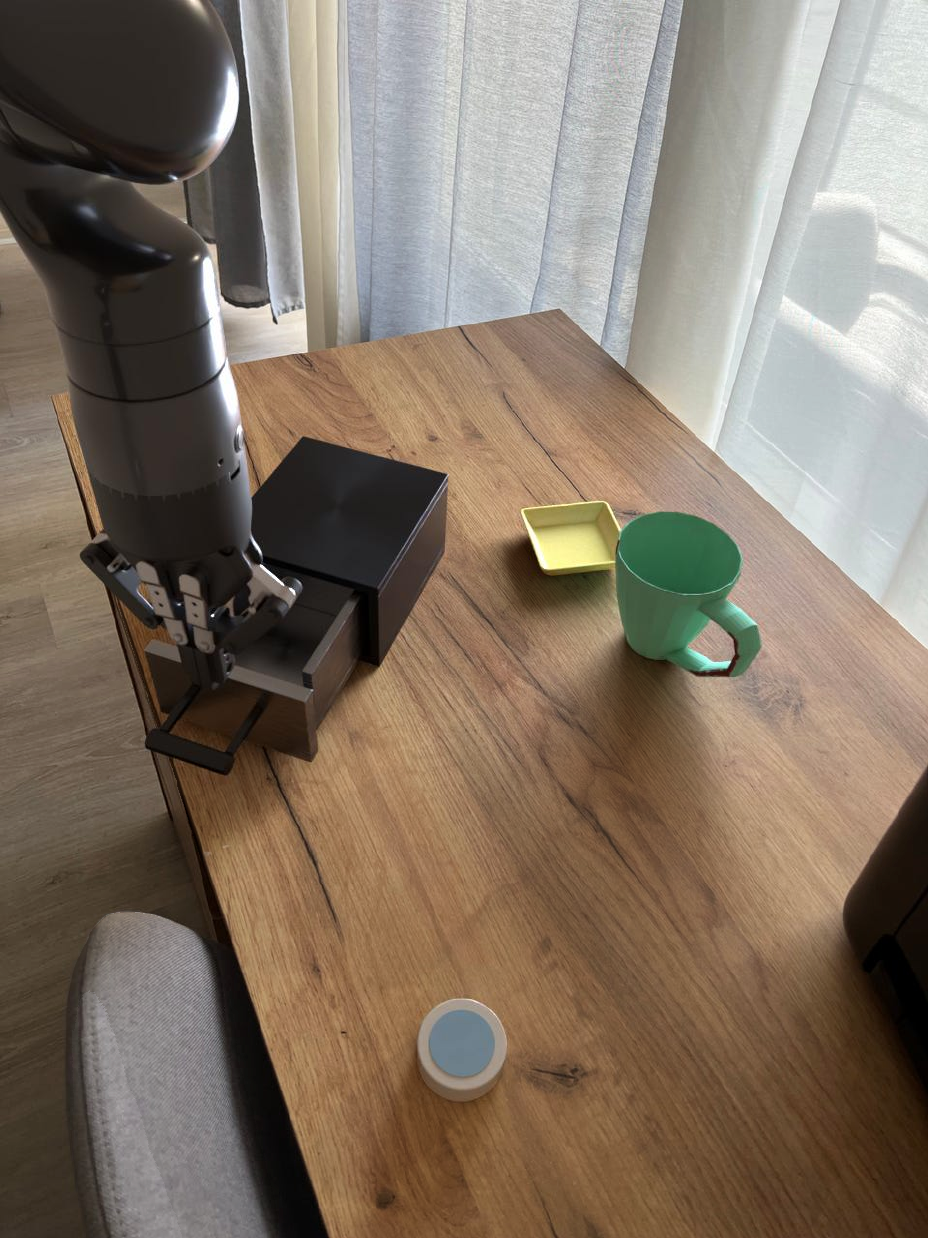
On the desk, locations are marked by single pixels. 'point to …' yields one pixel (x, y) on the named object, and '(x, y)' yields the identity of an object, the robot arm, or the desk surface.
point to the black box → (355, 528)
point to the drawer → (266, 678)
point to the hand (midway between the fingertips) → (211, 677)
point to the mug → (681, 591)
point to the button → (461, 1049)
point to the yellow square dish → (572, 537)
